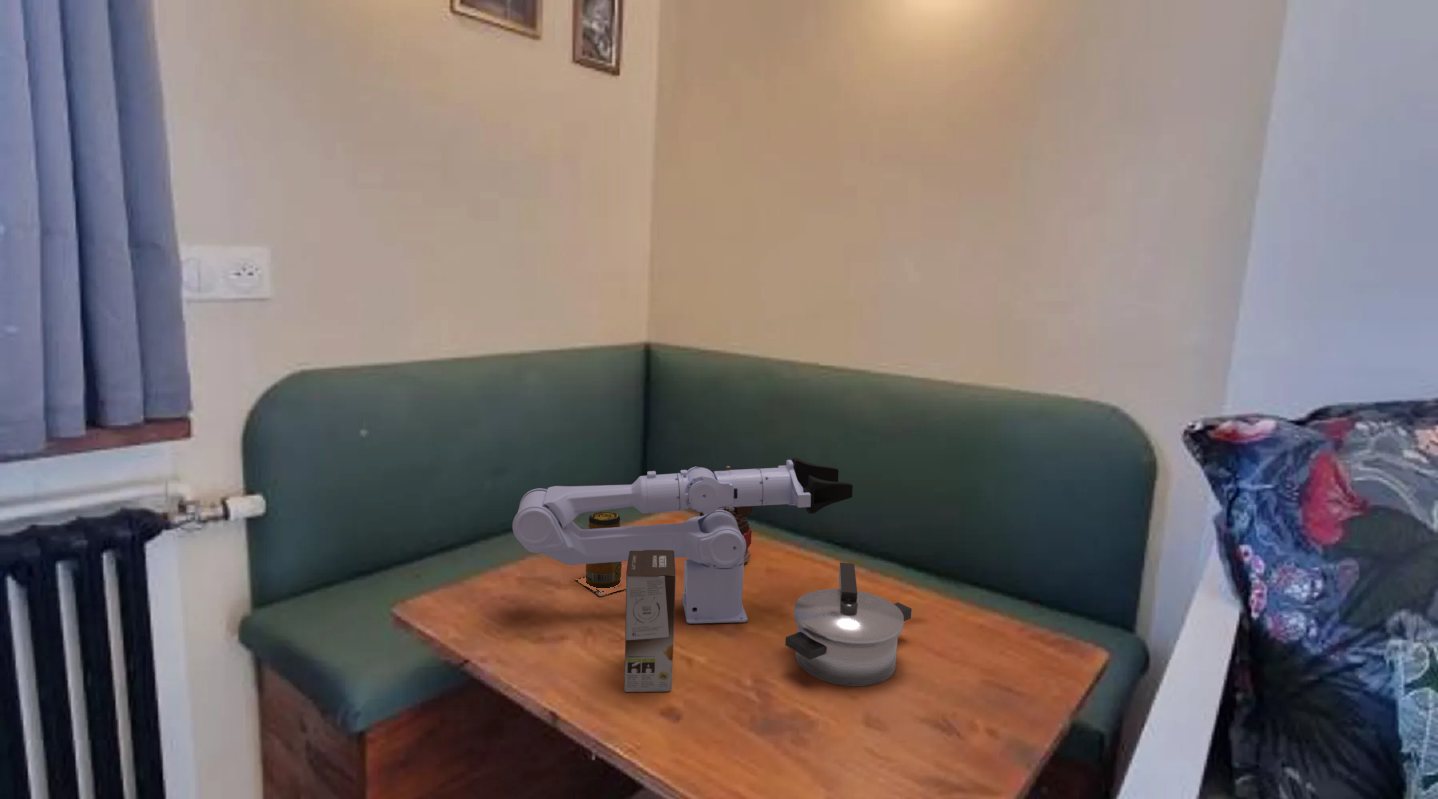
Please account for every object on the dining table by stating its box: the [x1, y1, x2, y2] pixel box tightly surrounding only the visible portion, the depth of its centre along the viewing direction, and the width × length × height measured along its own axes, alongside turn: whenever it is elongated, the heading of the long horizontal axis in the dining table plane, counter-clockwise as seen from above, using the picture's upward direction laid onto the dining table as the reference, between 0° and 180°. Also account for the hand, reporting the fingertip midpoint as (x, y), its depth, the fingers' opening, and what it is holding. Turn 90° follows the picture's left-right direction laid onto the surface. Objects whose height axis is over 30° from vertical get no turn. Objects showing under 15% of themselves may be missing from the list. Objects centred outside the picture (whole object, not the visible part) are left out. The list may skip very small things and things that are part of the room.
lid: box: [793, 562, 905, 646], centre depth 113 cm, size 20×15×4 cm
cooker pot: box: [784, 602, 913, 687], centre depth 113 cm, size 22×14×6 cm, turn 128°
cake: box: [699, 465, 753, 564], centre depth 146 cm, size 11×9×18 cm
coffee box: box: [623, 550, 676, 693], centre depth 105 cm, size 9×6×16 cm
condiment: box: [585, 510, 623, 597], centre depth 134 cm, size 7×8×12 cm
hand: (844, 482), depth 124 cm, fingers open, 7 cm apart
